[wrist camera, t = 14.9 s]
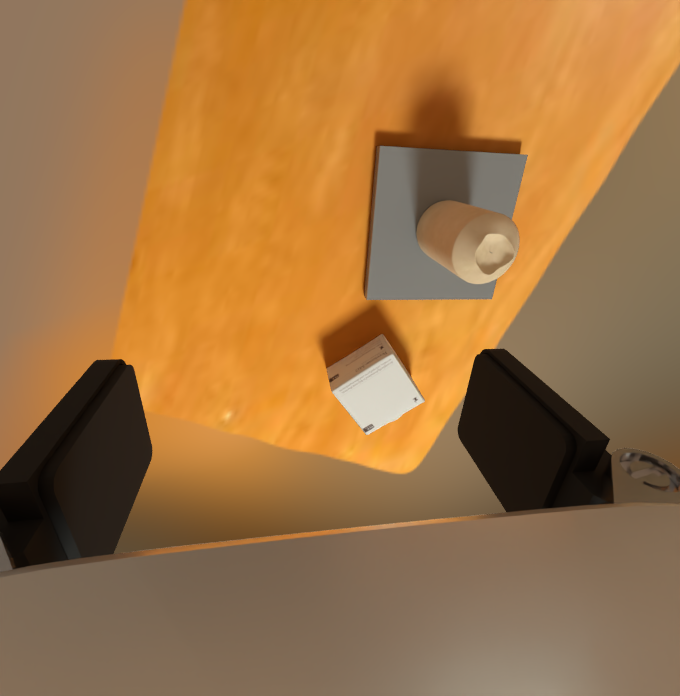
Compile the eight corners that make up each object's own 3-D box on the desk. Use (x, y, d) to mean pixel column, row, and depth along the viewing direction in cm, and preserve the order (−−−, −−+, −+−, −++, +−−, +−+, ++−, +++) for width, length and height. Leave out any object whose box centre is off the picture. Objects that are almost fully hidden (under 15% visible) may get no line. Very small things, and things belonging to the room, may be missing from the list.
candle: (477, 205, 36) (543, 223, 27) (458, 261, 38) (513, 294, 30) (424, 194, 35) (475, 208, 26) (408, 253, 37) (450, 284, 28)
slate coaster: (376, 145, 33) (380, 145, 32) (520, 154, 36) (527, 154, 34) (364, 295, 40) (366, 299, 39) (486, 295, 42) (491, 299, 41)
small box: (382, 331, 42) (394, 352, 38) (412, 378, 46) (427, 402, 41) (324, 367, 43) (330, 392, 39) (358, 410, 47) (367, 437, 42)
